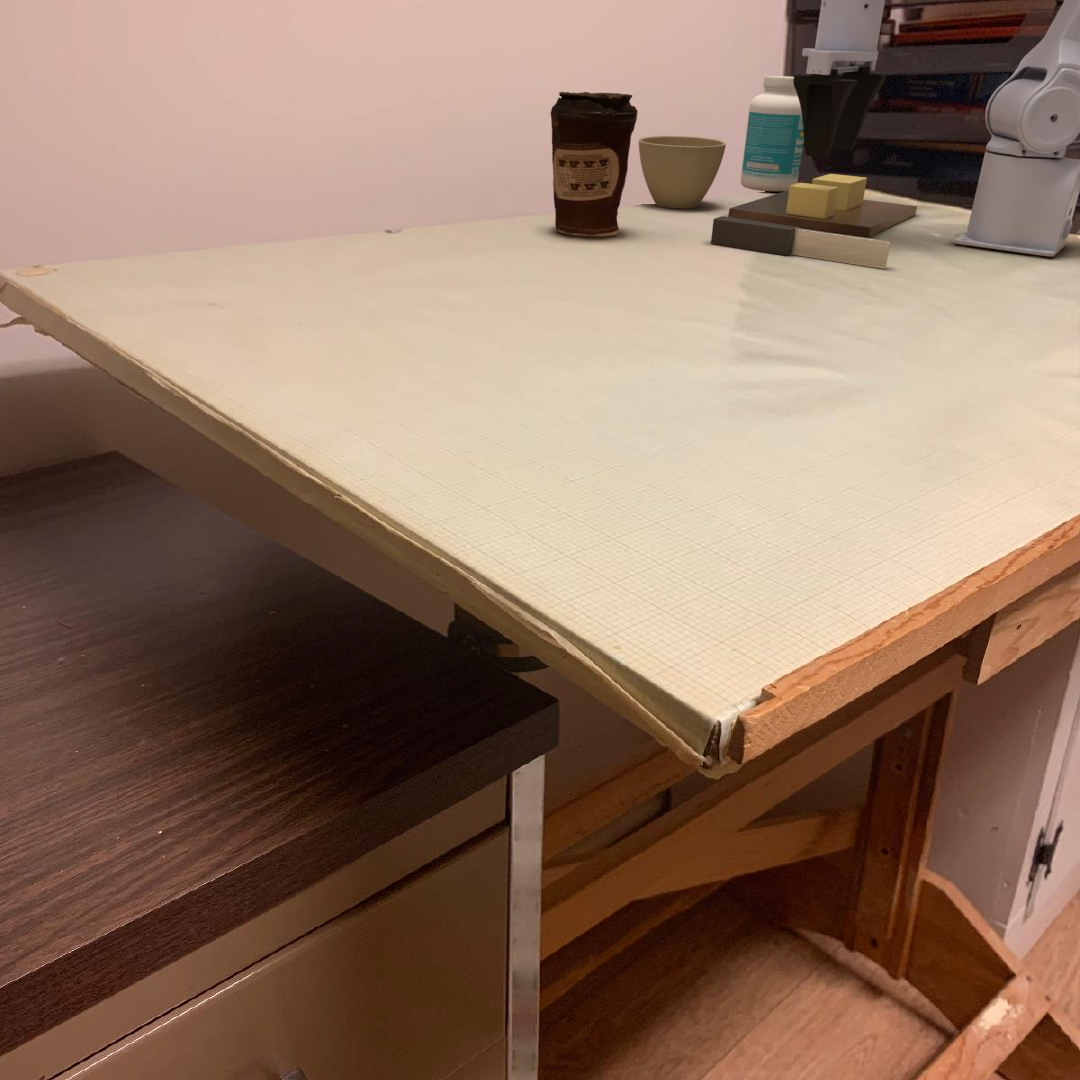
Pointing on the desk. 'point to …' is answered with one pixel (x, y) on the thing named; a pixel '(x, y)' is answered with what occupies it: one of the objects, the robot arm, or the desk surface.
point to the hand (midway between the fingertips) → (829, 152)
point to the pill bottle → (773, 137)
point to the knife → (799, 242)
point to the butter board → (852, 221)
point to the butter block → (845, 189)
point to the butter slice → (811, 200)
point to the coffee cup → (590, 160)
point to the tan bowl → (680, 168)
